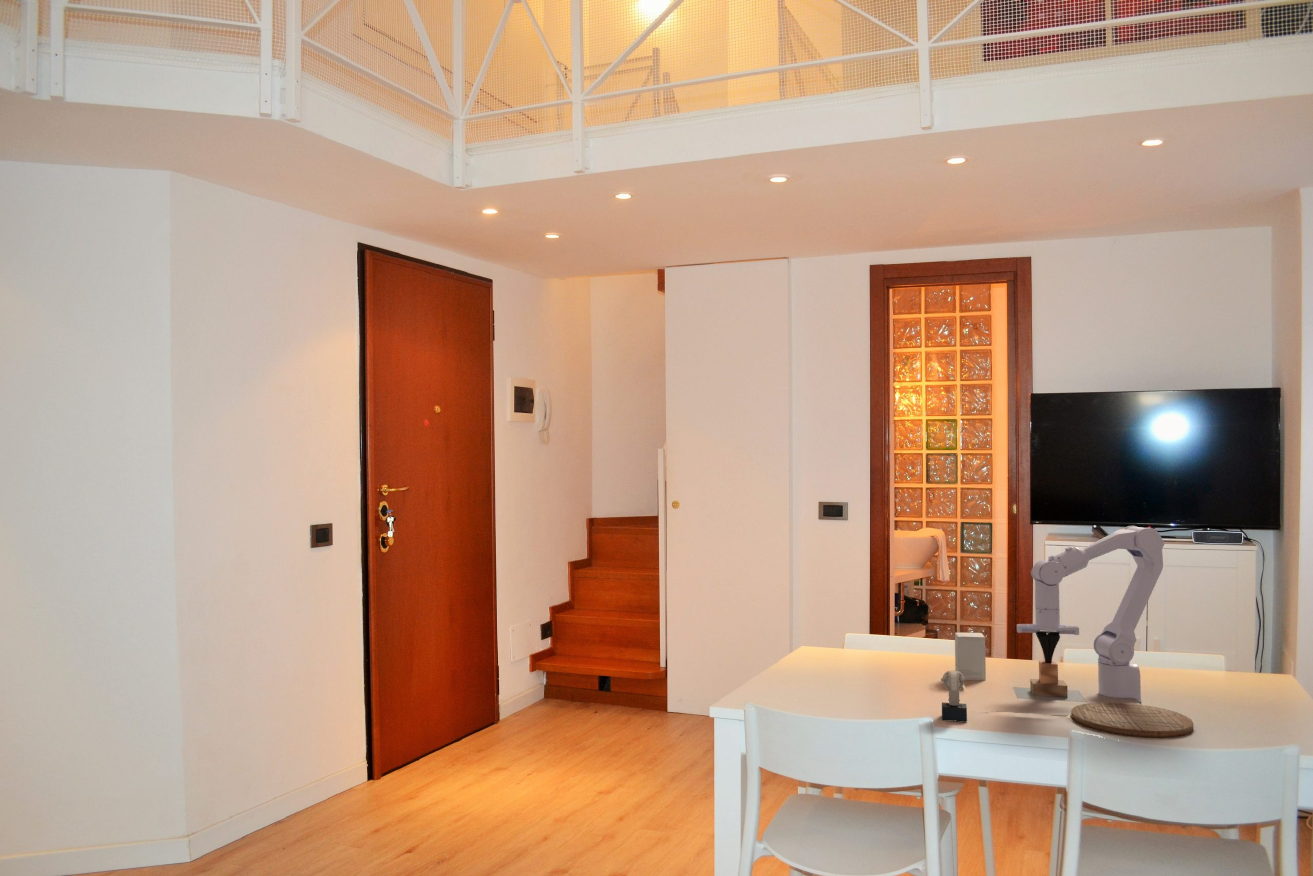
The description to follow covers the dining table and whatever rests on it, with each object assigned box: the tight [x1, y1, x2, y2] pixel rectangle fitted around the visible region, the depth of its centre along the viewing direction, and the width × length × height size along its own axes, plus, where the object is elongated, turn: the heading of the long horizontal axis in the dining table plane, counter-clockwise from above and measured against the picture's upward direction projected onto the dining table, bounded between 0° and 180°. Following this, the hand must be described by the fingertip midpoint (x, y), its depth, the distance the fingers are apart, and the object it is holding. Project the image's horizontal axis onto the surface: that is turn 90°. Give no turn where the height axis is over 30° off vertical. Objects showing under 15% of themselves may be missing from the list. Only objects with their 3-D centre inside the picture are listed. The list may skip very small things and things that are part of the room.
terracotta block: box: [1038, 660, 1059, 684], centre depth 243 cm, size 4×4×5 cm
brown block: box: [1029, 678, 1068, 698], centre depth 243 cm, size 8×6×3 cm
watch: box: [940, 670, 968, 722], centre depth 224 cm, size 6×8×11 cm
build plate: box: [1012, 686, 1088, 703], centre depth 243 cm, size 16×12×1 cm
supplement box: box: [954, 632, 987, 681], centre depth 263 cm, size 7×7×13 cm
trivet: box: [1071, 701, 1194, 739], centre depth 220 cm, size 25×25×2 cm
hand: (1048, 662), depth 243 cm, fingers closed
